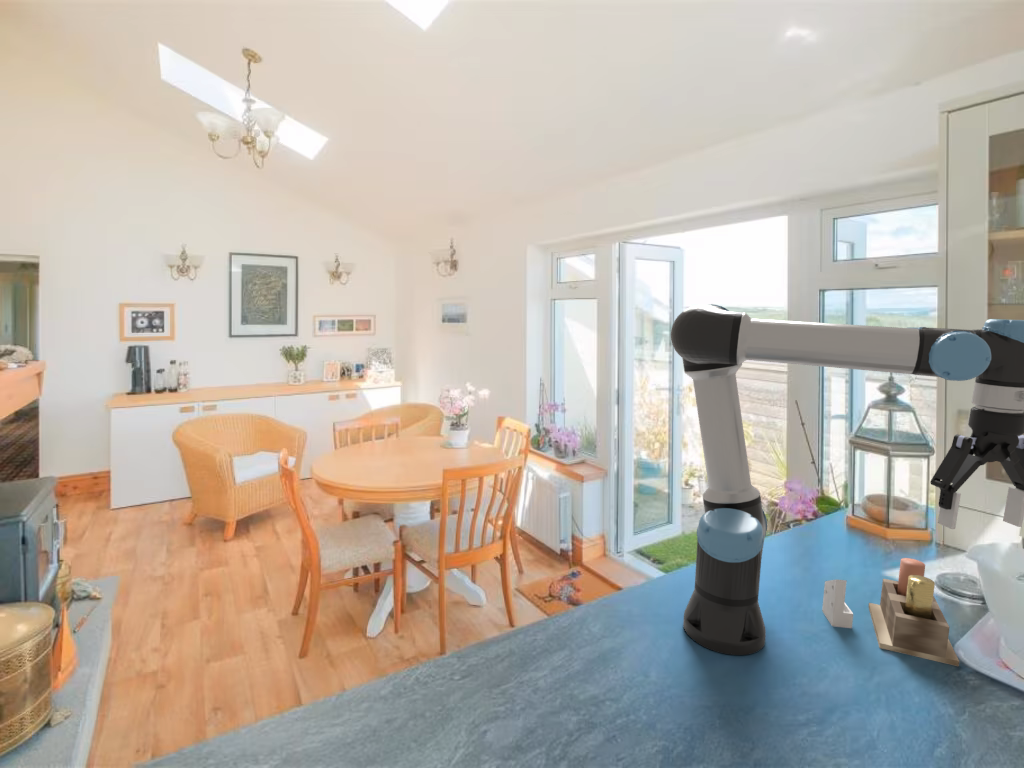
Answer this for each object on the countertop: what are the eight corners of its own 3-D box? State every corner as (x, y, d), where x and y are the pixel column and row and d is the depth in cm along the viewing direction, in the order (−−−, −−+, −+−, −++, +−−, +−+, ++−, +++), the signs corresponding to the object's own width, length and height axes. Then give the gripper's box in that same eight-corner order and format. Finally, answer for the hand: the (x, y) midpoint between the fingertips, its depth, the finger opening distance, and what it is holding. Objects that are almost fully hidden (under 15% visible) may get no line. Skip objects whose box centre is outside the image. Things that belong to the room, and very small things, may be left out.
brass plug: (905, 622, 104) (910, 582, 103) (902, 612, 107) (906, 573, 106) (932, 628, 102) (937, 587, 101) (927, 617, 106) (932, 577, 104)
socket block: (879, 647, 105) (883, 613, 104) (868, 607, 119) (871, 576, 118) (958, 666, 99) (963, 630, 98) (937, 621, 113) (941, 589, 112)
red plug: (898, 602, 111) (902, 564, 110) (894, 593, 114) (899, 556, 113) (922, 607, 109) (927, 568, 108) (918, 597, 113) (922, 560, 112)
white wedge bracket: (841, 626, 107) (836, 579, 110) (823, 625, 116) (819, 581, 119) (862, 629, 106) (856, 581, 109) (842, 627, 115) (838, 583, 119)
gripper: (956, 413, 90) (937, 535, 94) (1084, 413, 94) (1061, 531, 97) (916, 404, 98) (900, 518, 101) (1037, 404, 101) (1017, 514, 105)
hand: (979, 525), depth 99 cm, fingers open, 13 cm apart
